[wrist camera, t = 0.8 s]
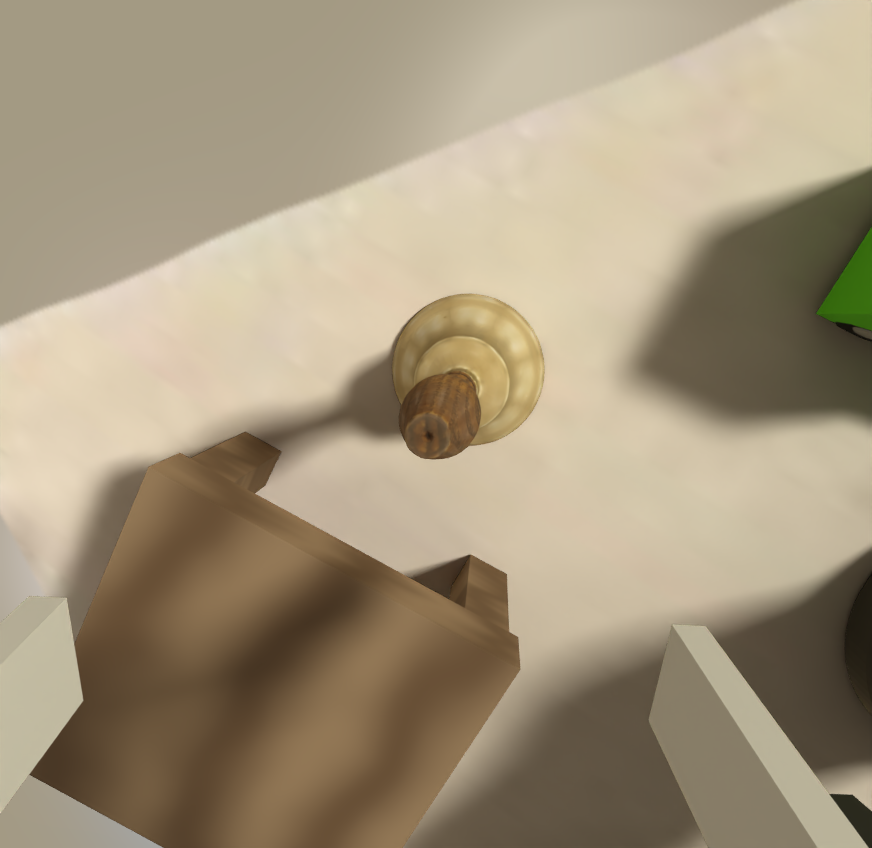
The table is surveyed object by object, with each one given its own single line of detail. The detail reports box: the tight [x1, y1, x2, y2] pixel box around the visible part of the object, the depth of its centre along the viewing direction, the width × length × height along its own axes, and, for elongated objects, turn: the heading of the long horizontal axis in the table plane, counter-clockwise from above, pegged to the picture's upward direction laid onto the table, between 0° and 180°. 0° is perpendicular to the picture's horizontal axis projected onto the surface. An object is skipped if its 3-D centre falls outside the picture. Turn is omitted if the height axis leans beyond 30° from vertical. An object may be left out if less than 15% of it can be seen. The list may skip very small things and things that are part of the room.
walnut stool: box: [29, 432, 520, 848], centre depth 30 cm, size 18×18×9 cm
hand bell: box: [392, 294, 544, 459], centre depth 23 cm, size 8×8×16 cm
